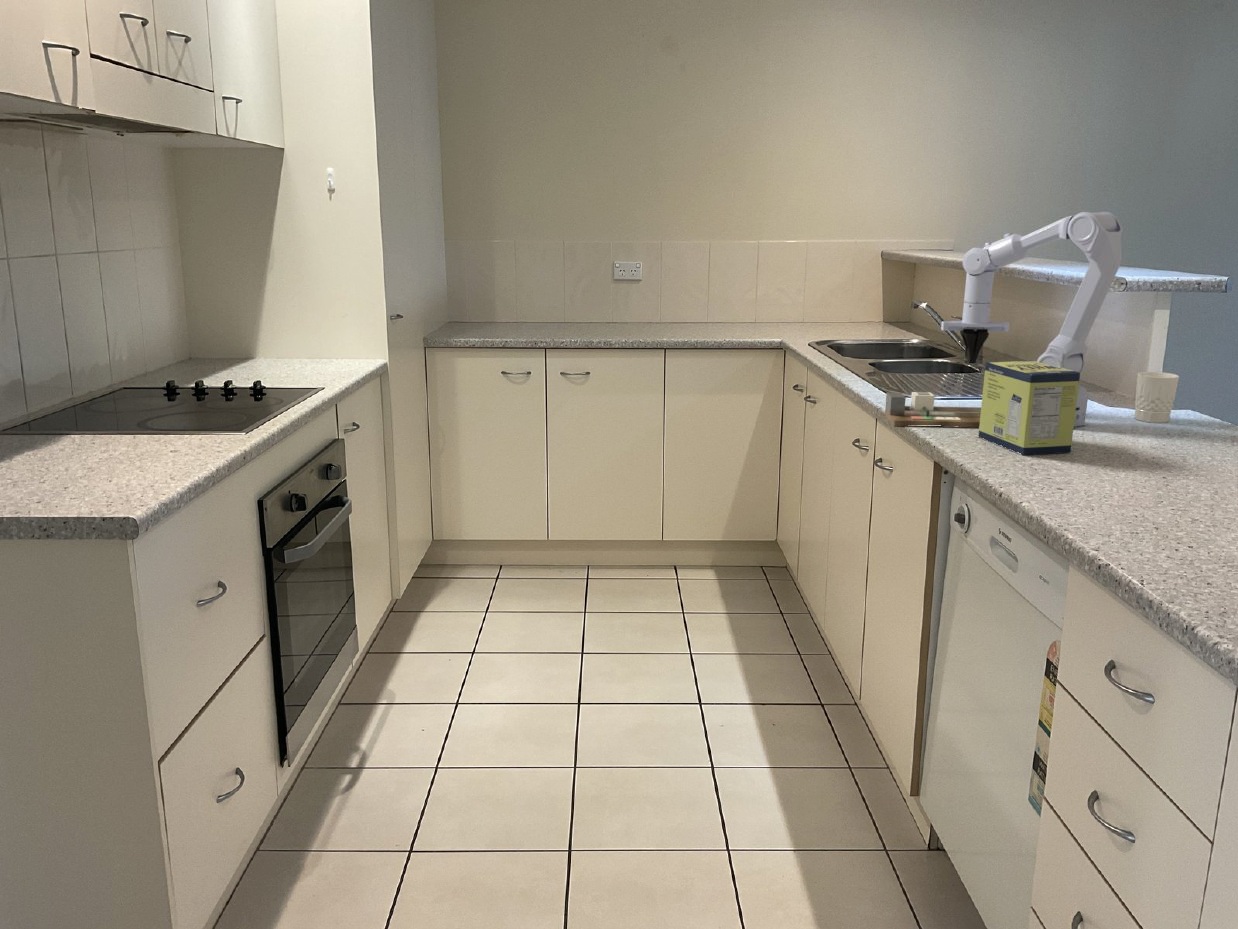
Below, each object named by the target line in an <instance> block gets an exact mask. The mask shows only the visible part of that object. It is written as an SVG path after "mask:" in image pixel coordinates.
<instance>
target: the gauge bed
mask: <svg viewBox="0 0 1238 929" xmlns="http://www.w3.org/2000/svg"><path fill="white" fill-rule="evenodd" d="M884 416H885V417H886V418H887V420H888V421H889V422H890V423H891V424H892V425H893V427H909V426H908V425H941V426H958V427H957V428H962V427H970V429H971V428H973V429H976V428H977V429H979V425H980V417H958V418H960V419H961V421H952V420H913V419H912V418H911V417H910V416H898V415H889V414H888V413H887V411H886V410H885V409H884ZM932 417H937V416H932Z"/></svg>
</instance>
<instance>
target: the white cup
mask: <svg viewBox="0 0 1238 929" xmlns="http://www.w3.org/2000/svg"><path fill="white" fill-rule="evenodd" d="M1179 379H1180V376H1179V375H1178V374H1174V373H1171V372H1170V373H1169V372H1159V371H1140V372H1137V377H1136V389H1135V402H1134V405H1135V409H1134V417H1133V418H1134V419H1135V420H1137V421H1140V422H1145V423H1151V424H1152V423H1153V424H1155V423H1157V424H1164V423H1169V421H1170V418H1171V413H1172V410H1173V405H1174V404H1175V398H1176V393H1177V388H1178V383H1179Z"/></svg>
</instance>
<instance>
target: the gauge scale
mask: <svg viewBox="0 0 1238 929" xmlns="http://www.w3.org/2000/svg"><path fill="white" fill-rule="evenodd" d="M910 417H911V418H912V419H913V420H952V421H961V419H960V418H958V417H932V416H929V417H926V416H910Z"/></svg>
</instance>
